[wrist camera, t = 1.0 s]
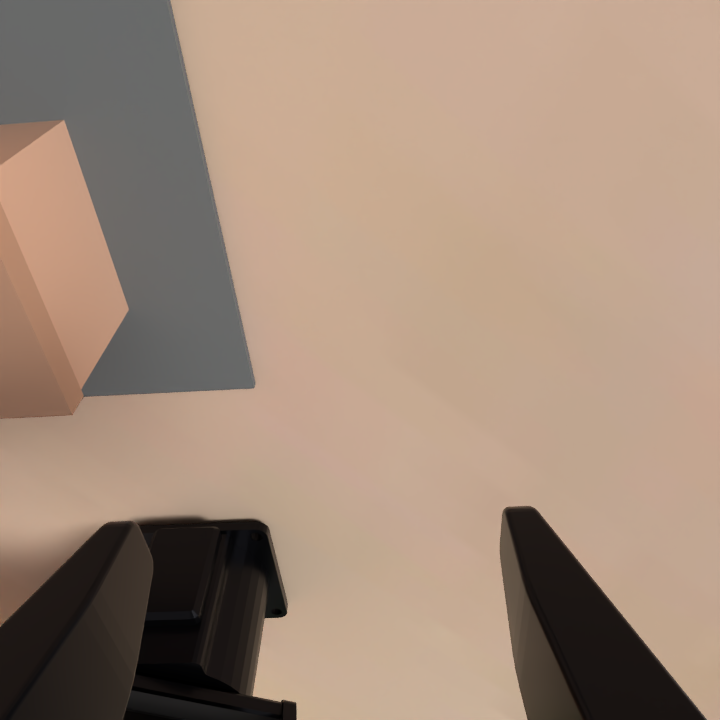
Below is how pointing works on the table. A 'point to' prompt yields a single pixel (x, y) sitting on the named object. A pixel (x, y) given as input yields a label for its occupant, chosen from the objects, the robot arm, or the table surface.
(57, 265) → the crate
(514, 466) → the table surface
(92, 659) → the robot arm
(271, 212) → the table surface
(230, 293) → the runner mat
